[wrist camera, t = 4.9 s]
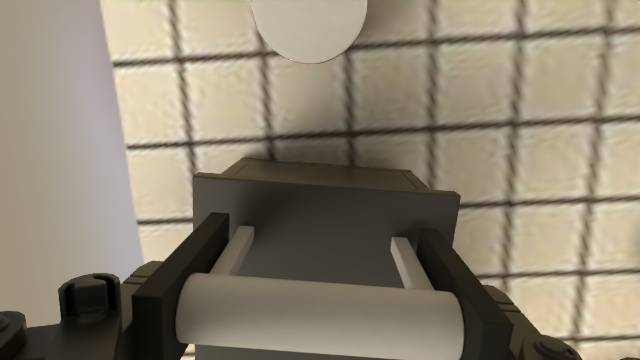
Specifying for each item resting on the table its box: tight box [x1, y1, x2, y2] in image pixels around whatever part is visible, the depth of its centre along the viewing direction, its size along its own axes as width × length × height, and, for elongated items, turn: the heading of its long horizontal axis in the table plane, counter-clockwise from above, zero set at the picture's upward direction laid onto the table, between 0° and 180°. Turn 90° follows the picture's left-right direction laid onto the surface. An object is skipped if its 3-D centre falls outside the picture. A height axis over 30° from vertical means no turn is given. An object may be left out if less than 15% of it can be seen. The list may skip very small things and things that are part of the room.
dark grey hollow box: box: [222, 158, 430, 190], centre depth 23 cm, size 15×12×9 cm
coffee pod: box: [252, 0, 368, 64], centre depth 21 cm, size 6×6×6 cm
